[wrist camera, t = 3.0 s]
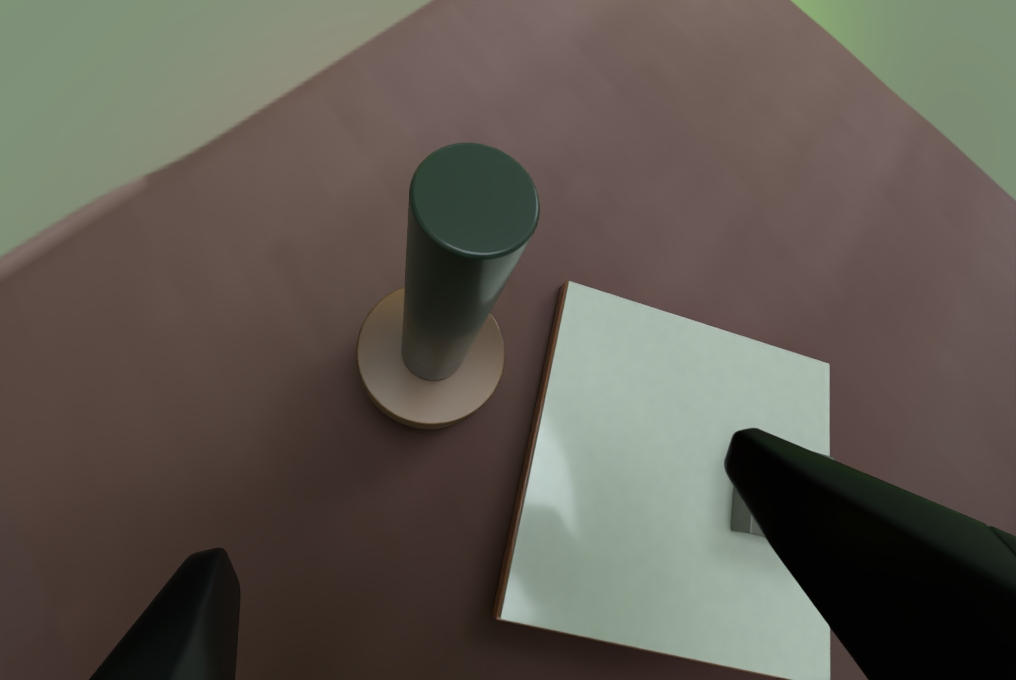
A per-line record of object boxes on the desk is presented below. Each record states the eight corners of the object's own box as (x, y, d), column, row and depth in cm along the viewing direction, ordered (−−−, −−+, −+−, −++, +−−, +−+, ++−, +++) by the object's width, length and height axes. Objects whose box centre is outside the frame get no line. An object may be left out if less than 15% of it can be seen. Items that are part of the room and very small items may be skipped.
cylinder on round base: (498, 421, 20) (658, 325, 8) (371, 445, 19) (328, 373, 7) (476, 306, 21) (583, 71, 9) (355, 321, 20) (293, 66, 8)
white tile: (491, 614, 18) (496, 621, 17) (560, 286, 23) (567, 278, 22) (812, 681, 20) (832, 691, 19) (814, 367, 25) (831, 362, 24)
